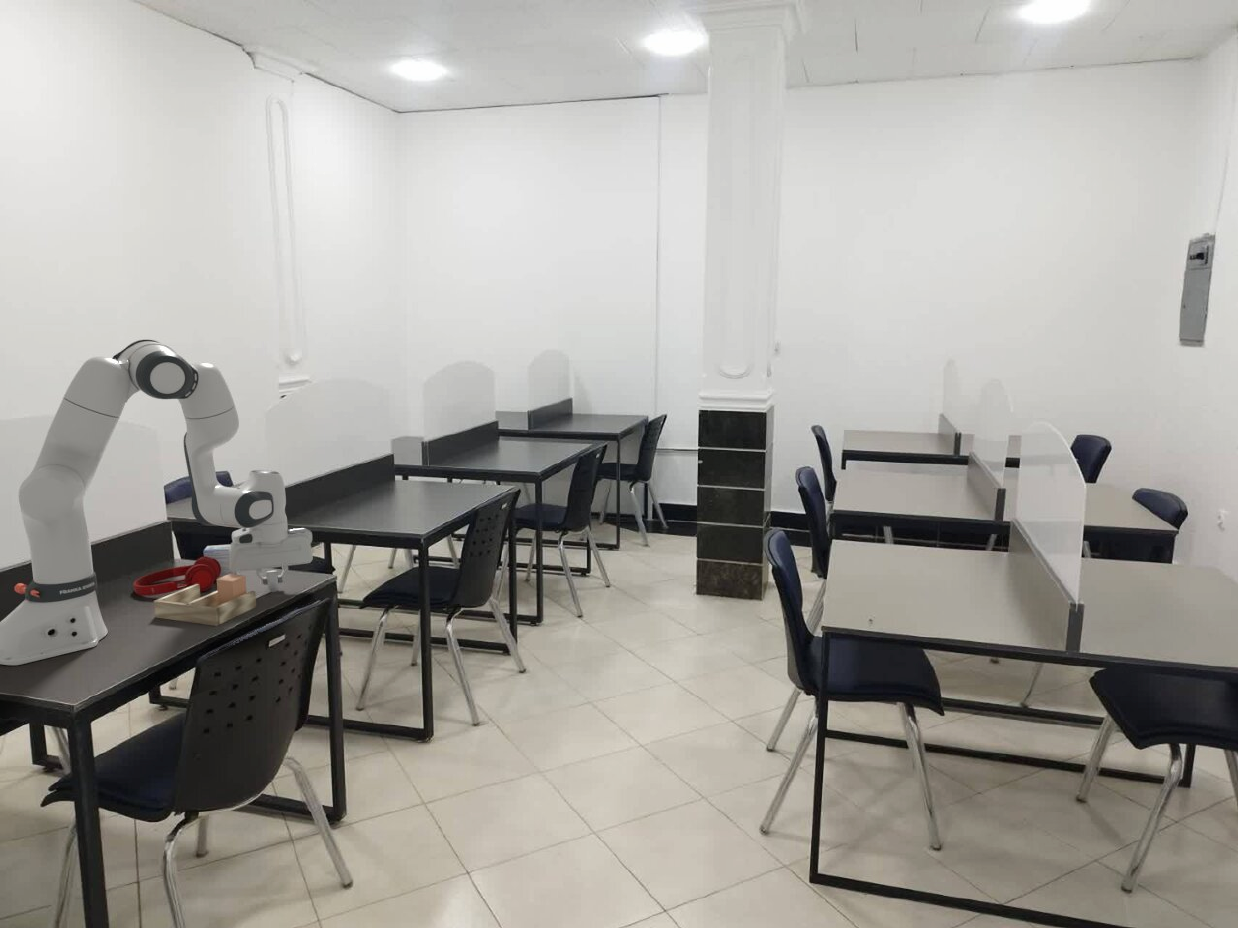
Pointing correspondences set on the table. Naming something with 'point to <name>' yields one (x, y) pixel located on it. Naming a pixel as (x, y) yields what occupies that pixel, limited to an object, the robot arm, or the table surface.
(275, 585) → the block
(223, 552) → the medicine box
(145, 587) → the headphones
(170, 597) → the lane shelf
